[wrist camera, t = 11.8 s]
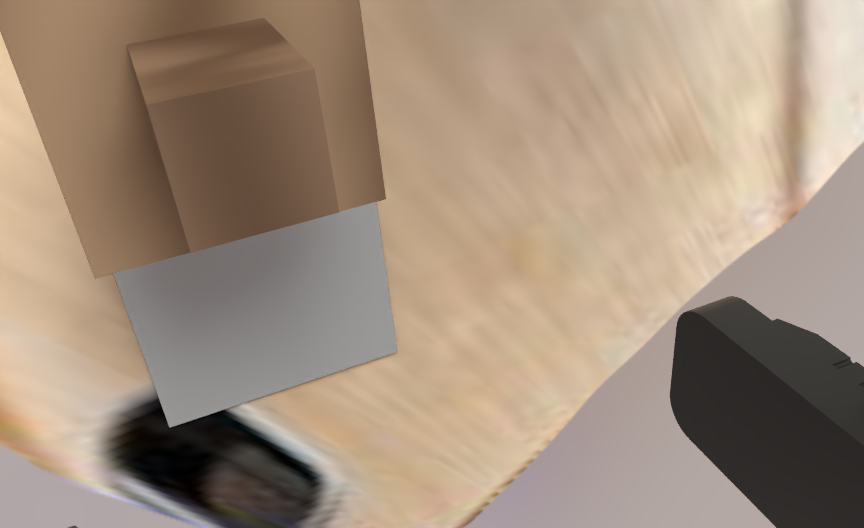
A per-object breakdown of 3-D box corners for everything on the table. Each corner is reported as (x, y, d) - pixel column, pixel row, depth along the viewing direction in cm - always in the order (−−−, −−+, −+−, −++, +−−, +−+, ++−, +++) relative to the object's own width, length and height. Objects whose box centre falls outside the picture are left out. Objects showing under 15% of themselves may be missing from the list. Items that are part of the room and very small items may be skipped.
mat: (365, 141, 36) (368, 144, 35) (394, 347, 42) (397, 351, 42) (90, 209, 32) (91, 213, 32) (168, 422, 39) (169, 427, 39)
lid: (333, -110, 21) (416, -84, 16) (375, 186, 26) (449, 273, 21) (-28, -56, 19) (-53, -7, 14) (93, 262, 24) (105, 379, 19)
